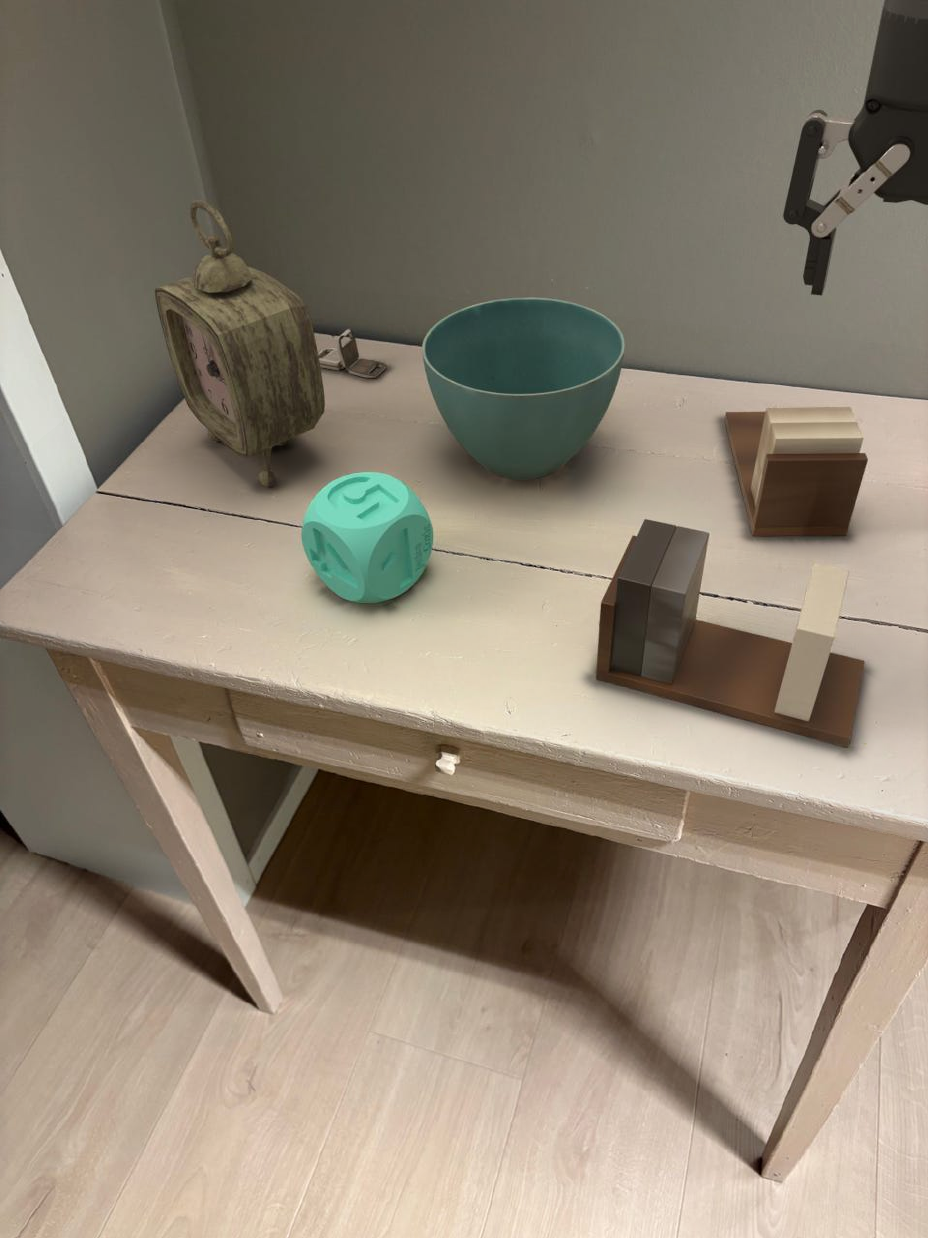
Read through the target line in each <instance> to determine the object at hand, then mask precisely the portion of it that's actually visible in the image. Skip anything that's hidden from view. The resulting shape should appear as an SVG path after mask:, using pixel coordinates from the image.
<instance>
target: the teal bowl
mask: <svg viewBox="0 0 928 1238" xmlns="http://www.w3.org/2000/svg"><path fill="white" fill-rule="evenodd" d="M625 346H626V342H625V337H624V335H623V333H622V330H621V329H620V328H619V326H618V325H617V324H616V323H615V322H614V321H613V320H612V319H610V318H609V317H607V316H606V315H604V314H603V313H601V312H599V311H597V310H595V309H592V308H590V307H588V306H585V305H582V304H578V303H575V302H571V301H568V300H561V299H555V298H546V297H511V298H502V299H501V298H500V299H494V300H489V301H484V302H479V303H476V304H473V305H469V306H467V307H464V308H462V309H459V310H456V311H455V312H452V313H450V314H448V315H446V316H445V317H443V318H442V319H440V320H439V321H438V322H436V323H435V324H434V325H433V326H432V327H431V328H430V329H429V330H428V332H427V333H426V335H425V337H424V338H423V341H422V344H421V353H422V360H423V367H424V370H425V375H426V380H427V382H428V386H429V389H430V392H431V395H432V398H433V400H434V403H435V405H436V407H437V410H438V411H439V414H440V416H441V417H442V419H443V421H444V423H445V425H446V426H447V428H448V430H449V431H450V433H451V434H452V436H453V437H454V439H455V440H456V441H457V442H458V444H459V445H460V446H461V447H462V449H464V451H466V452H467V454H469V455H470V456H471V457H472V458H473V459H474V460H475V461H476V462H477V463H478V464H480V465H481V466H482V467H483V468H484V469H486V470H487V471H489V472H490V473H492V474H494V475H496V476H499V477H502V478H506V479H510V480H518V481H519V480H522V481H523V480H524V481H526V480H533V479H539V478H543V477H546V476H548V475H551V474H553V473H555V472H557V471H558V470H559V469H561V468H562V467H563V466H565V465H566V464H567V463H568V462H569V461H570V460H571V459H572V458H573V457H575V455H577V454H578V452H580V451H581V449H583V447H584V446H585V445H587V443H588V442H589V440H590V439H591V438H592V436H593V435H594V434H595V432H596V431H597V430H598V427H599V426H600V424H601V422H602V421H603V419H604V417H605V415H606V413H607V411H608V409H609V407H610V404H611V403H612V400H613V398H614V395H615V392H616V389H617V386H618V384H619V380H620V376H621V372H622V368H623V362H624V358H625V357H624V356H625V349H626V347H625Z"/></svg>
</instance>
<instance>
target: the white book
mask: <svg viewBox="0 0 928 1238" xmlns="http://www.w3.org/2000/svg"><path fill="white" fill-rule="evenodd" d="M849 575H850V570H848V569H844V568H839V567H834V566H830V565H827V564H826V565H825V564H821V563H816V562H814V563H813V564H812V568H811V571H810V576H809V579H808V582H807V587H806V590H805V594H804V598H803V602H802V605H801V608H800V613H799V617H798V620H797V623H796V627H795V631H794V634H793V638H792V642H791V643H792V646H791V650H790V654H789V658H788V661H787V665H786V669H785V673H784V677H783V681H782V684H781V688H780V692H779V696H778V700H777V704H776V707H775V711H774V712H775V713H778V714H782V715H786V716H790V717H793V718H797V719H801V720H804V721H809V719H810V716H811V713H812V709H813V706H814V703H815V700H816V697H817V693H818V690H819V687H820V684H821V680H822V677H823V674H824V671H825V667H826V664H827V661H828V658H829V655H830V652H831V651H832V648H833V645H834V642H835V638H836V633H837V629H838V624H839V620H840V616H841V611H842V607H843V602H844V597H845V593H846V589H847V584H848V580H849Z"/></svg>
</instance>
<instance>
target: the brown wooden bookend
mask: <svg viewBox="0 0 928 1238" xmlns="http://www.w3.org/2000/svg"><path fill="white" fill-rule="evenodd" d="M709 539H710V532H707V531H703V530H698V529H693V528H689V527H684V526H680V525H676V524H671V523H666V522H662V521H656V520H652V519H648V518H644V520H643V521H642V524H641V526H640V528H639V531H638V532H637V535H632V536H631V538H630V540H629V542H628V544H627V546H626V549H625V550H624V552H623V555H622V557H621V559H620V561H619V563H618V565H617V568H616V569H615V572H614V574H613V576H612V578H611V580H610V583H609V584H608V586H607V589H606V591H605V592H604V595H603V596H602V599H601V601H600V607H599V608H600V611H599V623H598V624H599V625H598V627H599V628H598V640H597V643H598V644H597V655H596V658H597V659H596V671H595V679H596V680H599V681H602V682H605V683H606V682H607V683H609V684H614V685H617V686H621V687H625V688H628V689H631V690H635V691H638V692H642V693H646V694H650V695H653V696H658V697H661V698H664V699H668V700H671V701H675V702H680V703H683V704H686V705H691V706H693V707H696V708H697V707H698V708H702V709H705V710H708V711H712V712H716V713H720V714H723V715H726V716H731V717H734V718H738V719H741V720H746V721H749V722H753V723H757V724H759V725H763V726H768V727H771V728H775V729H778V730H781V731H782V730H783V731H786V732H789V733H792V734H796V735H801V736H804V737H808V738H812V739H815V740H818V741H822V742H826V743H830V744H833V745H836V746H841V747H844V748H848V747H849V743H850V741H851V737H852V733H853V727H854V722H855V716H856V711H857V707H858V699H859V695H860V688H861V684H862V679H863V673H864V667H865V662H866V661H865V660H864V659H860V658H855V657H852V656H848V655H843V654H839V653H835V652H831V651H830V655H829V658H828V661H827V664H826V667H825V671H824V674H823V677H822V680H821V684H820V687H819V690H818V693H817V697H816V700H815V703H814V706H813V709H812V713H811V716H810V719H809V721H804V720H801V719H797V718H793V717H790V716H786V715H782V714H778V713H775V712H774V711H775V707H776V704H777V700H778V696H779V692H780V688H781V684H782V681H783V677H784V673H785V669H786V665H787V661H788V658H789V654H790V650H791V646H792V642H790V641H786V640H782V639H777V638H773V637H770V636H765V635H761V634H757V633H753V632H749V631H745V630H741V629H737V628H732V627H728V626H724V625H720V624H716V623H713V622H709V621H704V620H701V619H697V614H698V613H697V612H698V608H699V607H698V605H699V600H700V593H701V589H702V583H703V576H704V569H705V563H706V558H707V552H708V551H707V550H708V545H709Z"/></svg>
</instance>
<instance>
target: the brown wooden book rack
mask: <svg viewBox="0 0 928 1238" xmlns="http://www.w3.org/2000/svg"><path fill="white" fill-rule="evenodd" d="M724 424H725V428H726V434H727V437H728V440H729V445H730V448H731V452H732V456H733V457H732V458H733V461H734V464H735V470H736V472H737V476H738V481H739V484H740V485H739V486H740V488H741V493H742V497H743V502H744V505H745V510H746V513H747V518H748V520H749V521H748V522H749V525H750V530H751V533H752V536H753V537H783V536H785V537H794V536H795V537H802V536H803V537H810V536H812V537H813V536H817V537H819V536H821V537H822V536H824V537H825V536H826V537H827V536H830V537H831V536H832V537H833V536H834V537H836V536H839V537H840V536H841V537H842V536H847V534H848V531H849V526H850V523H851V520H852V517H853V513H854V510H855V505H856V502H857V499H858V496H859V492H860V489H861V485H862V482H863V480H864V479H863V478H864V476H865V472H866V469H867V464H868V461H869V458H868V456H867V453H866V452H861V449H862V445H863V442H864V436H863V433H862V431H861V428H860V426H859V423H858V421H857V419H856V417H855V414H854V412H853V409H852V407H851V406H824V407H823V406H822V407H821V406H819V407H817V406H814V407H813V406H812V407H766V408H765V411H726V412H725V413H724Z"/></svg>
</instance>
